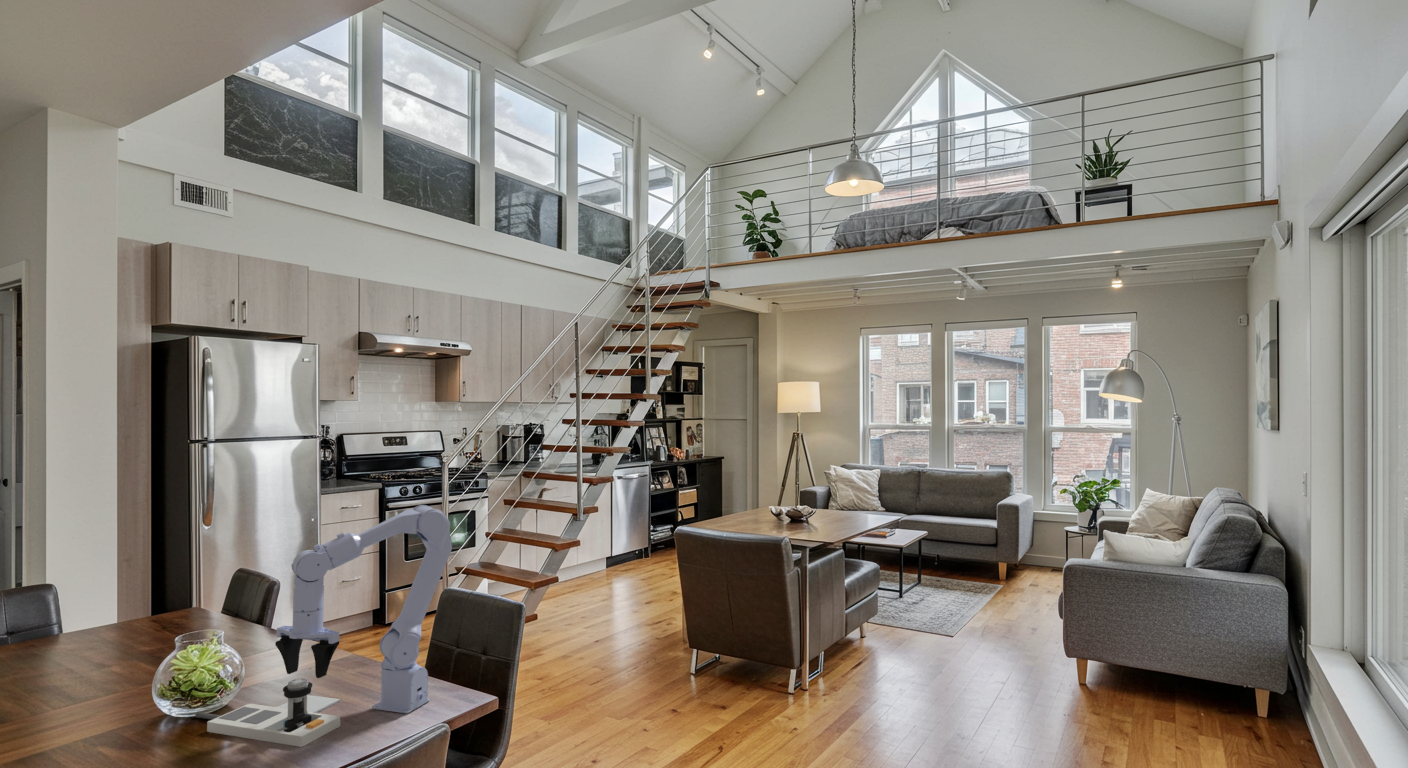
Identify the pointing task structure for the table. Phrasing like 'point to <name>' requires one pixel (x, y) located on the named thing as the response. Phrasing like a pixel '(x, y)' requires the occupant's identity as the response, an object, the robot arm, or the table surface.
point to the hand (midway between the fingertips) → (306, 674)
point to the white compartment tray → (269, 725)
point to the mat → (316, 703)
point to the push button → (296, 704)
